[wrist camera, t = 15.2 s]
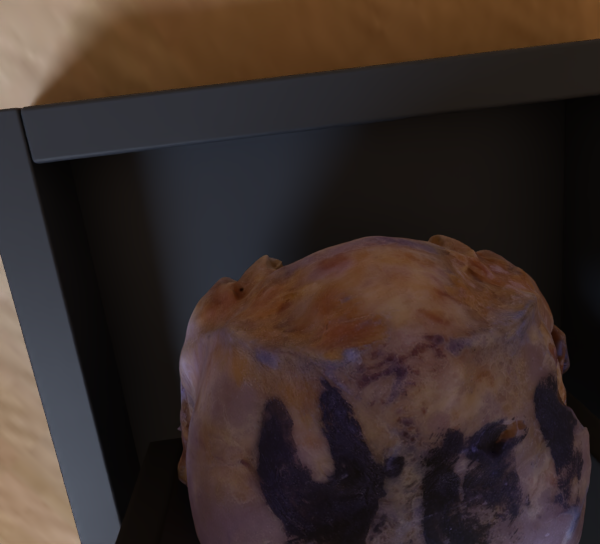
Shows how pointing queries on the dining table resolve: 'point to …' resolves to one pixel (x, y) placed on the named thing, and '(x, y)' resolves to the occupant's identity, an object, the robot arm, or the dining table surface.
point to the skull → (380, 402)
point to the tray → (277, 219)
